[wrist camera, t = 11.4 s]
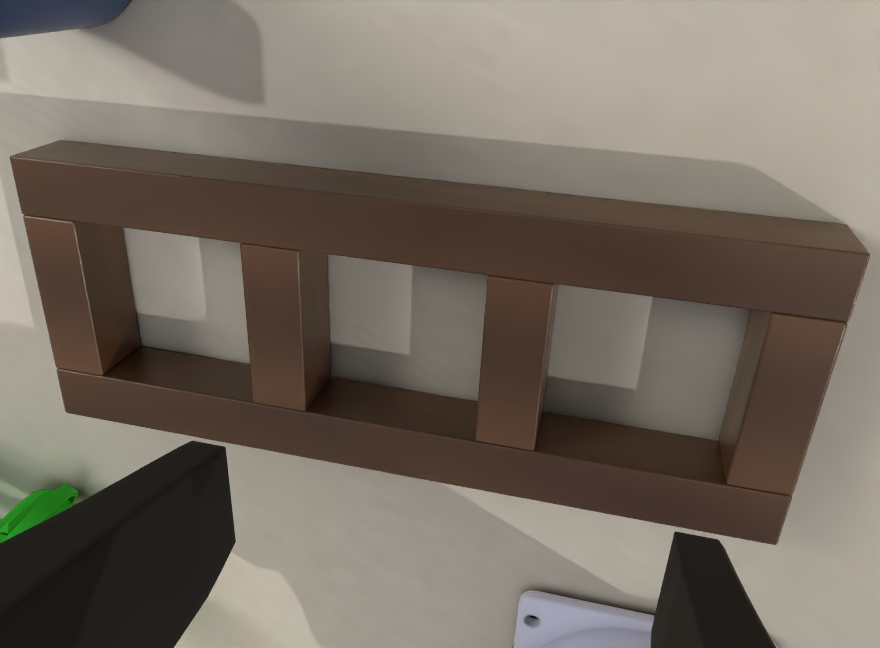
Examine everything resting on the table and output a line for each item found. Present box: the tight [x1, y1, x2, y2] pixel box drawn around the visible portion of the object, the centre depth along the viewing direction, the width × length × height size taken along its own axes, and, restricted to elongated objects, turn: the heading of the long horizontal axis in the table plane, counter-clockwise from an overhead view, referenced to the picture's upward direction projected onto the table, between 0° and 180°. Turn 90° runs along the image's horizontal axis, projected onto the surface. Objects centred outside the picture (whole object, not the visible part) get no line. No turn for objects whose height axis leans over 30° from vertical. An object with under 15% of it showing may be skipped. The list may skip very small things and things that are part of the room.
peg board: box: [10, 140, 870, 545], centre depth 20 cm, size 8×21×2 cm, turn 88°
